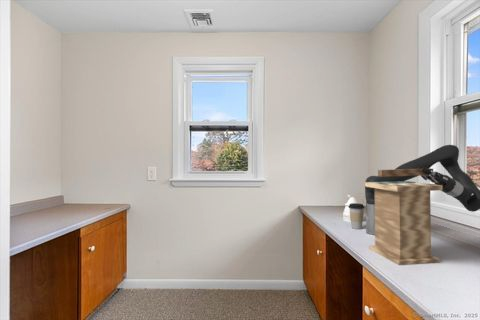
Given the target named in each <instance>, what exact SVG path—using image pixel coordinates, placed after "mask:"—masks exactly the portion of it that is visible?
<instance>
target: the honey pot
mask: <svg viewBox="0 0 480 320" xmlns="http://www.w3.org/2000/svg"><path fill="white" fill-rule="evenodd" d="M347 198H349V199H348V200H347V202H346V203H344V205H345V207H344V210H343V212H342V221H343V222H345V221H346V222H345V223H350V222H351V220H350V209H349V205H350V204H351V203H358V204H359V202H358V200H357V199H356V197H354V196H352V194H347ZM363 222H364V220H363V221H362V223H363Z"/></svg>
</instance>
